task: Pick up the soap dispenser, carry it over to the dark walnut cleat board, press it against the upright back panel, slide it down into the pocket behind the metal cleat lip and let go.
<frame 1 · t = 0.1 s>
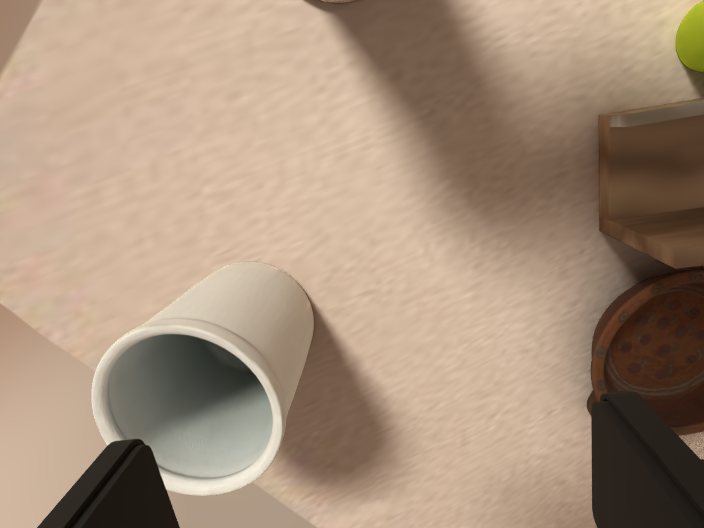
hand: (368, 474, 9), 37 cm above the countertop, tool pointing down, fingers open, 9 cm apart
dish: (657, 334, 47), on the countertop
utensil holder: (252, 317, 50), on the countertop
cleat board: (700, 159, 41), on the countertop
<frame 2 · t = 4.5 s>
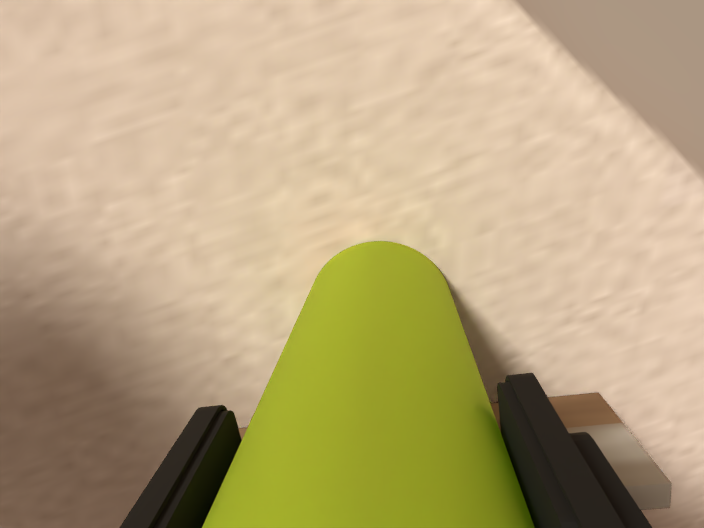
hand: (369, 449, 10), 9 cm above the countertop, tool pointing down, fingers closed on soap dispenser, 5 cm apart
cleat board: (404, 509, 21), on the countertop
soap dispenser: (371, 299, 18), on the countertop, touching gripper
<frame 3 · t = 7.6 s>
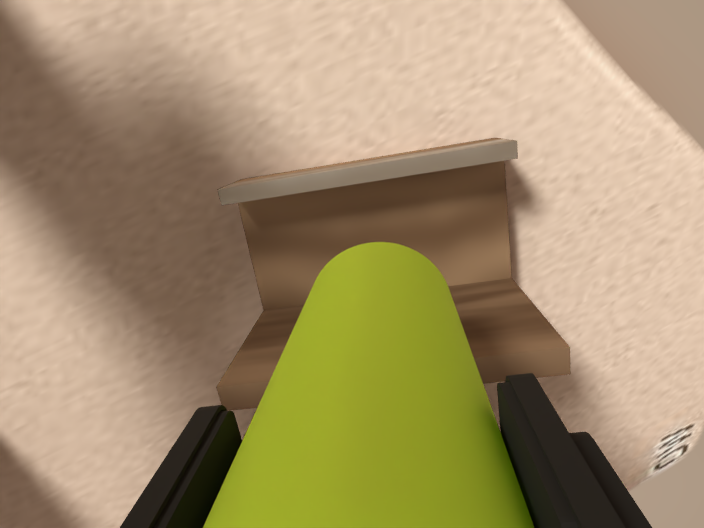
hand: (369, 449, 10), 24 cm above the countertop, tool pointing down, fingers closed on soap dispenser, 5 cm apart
cleat board: (376, 234, 33), on the countertop
soap dispenser: (371, 300, 18), point 15 cm above the countertop, touching gripper
when the fingers open (11 cm above the countertop, at t = 10.9 s): soap dispenser stays where it is, resting on cleat board.
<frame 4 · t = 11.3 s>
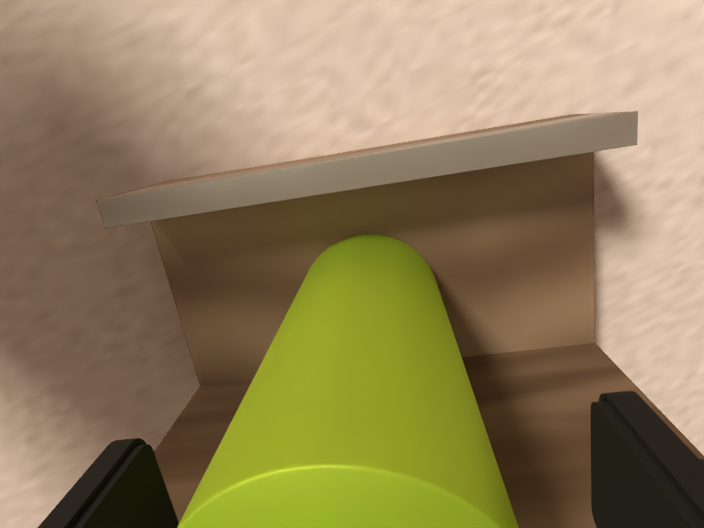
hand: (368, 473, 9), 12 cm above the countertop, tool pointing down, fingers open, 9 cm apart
cleat board: (375, 269, 21), on the countertop
soap dispenser: (361, 290, 19), point 2 cm above the countertop, touching cleat board
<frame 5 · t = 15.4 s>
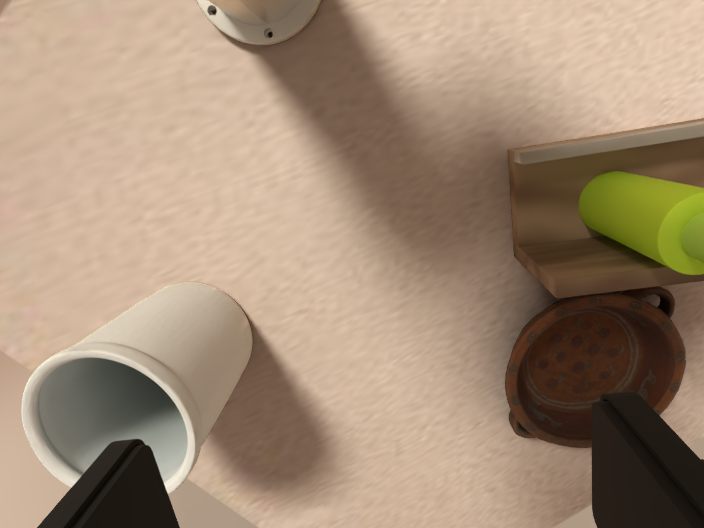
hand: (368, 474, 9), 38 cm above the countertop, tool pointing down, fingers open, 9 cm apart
dish: (573, 352, 50), on the countertop
utensil holder: (195, 334, 52), on the countertop
cleat board: (603, 191, 44), on the countertop
soap dispenser: (605, 198, 43), point 2 cm above the countertop, touching cleat board
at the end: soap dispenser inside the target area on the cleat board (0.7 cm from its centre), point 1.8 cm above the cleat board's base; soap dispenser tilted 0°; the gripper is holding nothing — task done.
